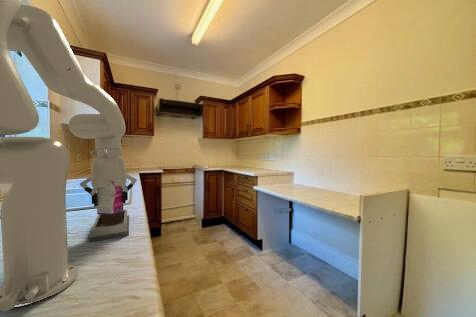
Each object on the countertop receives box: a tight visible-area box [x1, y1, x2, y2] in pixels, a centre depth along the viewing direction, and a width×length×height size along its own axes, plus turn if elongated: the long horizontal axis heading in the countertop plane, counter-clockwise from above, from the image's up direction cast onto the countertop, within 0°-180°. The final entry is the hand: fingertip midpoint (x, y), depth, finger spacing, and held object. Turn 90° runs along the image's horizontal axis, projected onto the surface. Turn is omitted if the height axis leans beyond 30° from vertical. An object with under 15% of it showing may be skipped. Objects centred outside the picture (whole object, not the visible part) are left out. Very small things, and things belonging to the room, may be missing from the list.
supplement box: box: [96, 181, 124, 215], centre depth 70 cm, size 6×6×12 cm
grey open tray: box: [88, 209, 130, 243], centre depth 73 cm, size 18×11×8 cm, turn 28°
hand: (110, 203), depth 70 cm, fingers closed on supplement box, 8 cm apart
